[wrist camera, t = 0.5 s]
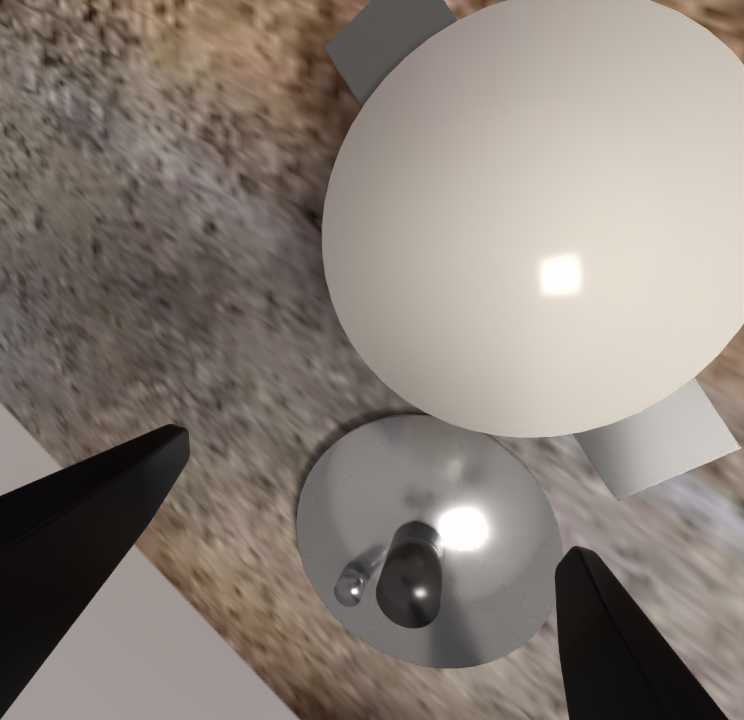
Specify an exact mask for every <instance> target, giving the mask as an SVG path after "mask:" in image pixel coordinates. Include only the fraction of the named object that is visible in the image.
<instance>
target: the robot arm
mask: <svg viewBox="0 0 744 720" xmlns="http://www.w3.org/2000/svg"><path fill="white" fill-rule="evenodd" d="M189 455H190V447H189V433H188V430H187V429H186V428H184V427H181V426H178V425H174V424H168V425H165V426H162V427H160V428H158V429H155V430H153V431H151V432H148V433H146V434H144V435H141V436H139V437H137V438H134V439H132V440H130V441H127V442H125V443H123V444H120V445H118V446H116V447H113V448H111V449H109V450H106V451H104V452H102V453H99V454H97V455H95V456H92V457H90V458H88V459H85V460H83V461H81V462H78V463H76V464H74V465H71V466H69V467H67V468H64V469H62V470H60V471H57V472H55V473H53V474H50V475H48V476H46V477H43V478H41V479H39V480H36V481H34V482H32V483H29V484H27V485H25V486H22V487H20V488H18V489H15V490H13V491H11V492H8V493H6V494H4V495H1V496H0V719H1V718H2V717H3V715H4V714H5V713H6V711H7V710H8V709H9V707H10V706H11V705H12V704H13V702H14V701H15V700H16V698H17V697H18V696H19V694H20V693H21V692H22V690H23V689H24V688H25V686H26V685H27V684H28V683H29V681H30V680H31V679H32V677H33V676H34V675H35V673H36V672H37V671H38V669H39V668H40V667H41V665H42V664H43V663H44V661H45V660H46V659H47V658H48V656H49V655H50V654H51V652H52V651H53V650H54V648H55V647H56V646H57V644H58V643H59V642H60V640H61V639H62V638H63V636H64V635H65V634H66V633H67V631H68V630H69V629H70V627H71V626H72V624H73V623H74V622H75V621H76V619H77V618H78V617H79V615H80V614H81V613H82V612H83V610H84V609H85V608H86V606H87V605H88V604H89V602H90V601H91V600H92V598H93V597H94V596H95V594H96V593H97V592H98V590H99V589H100V588H101V587H102V585H103V584H104V583H105V581H106V580H107V579H108V577H109V576H110V575H111V573H112V572H113V571H114V569H115V568H116V567H117V565H118V564H119V563H120V562H121V560H122V559H123V557H124V556H125V555H126V554H127V552H128V551H129V550H130V548H131V547H132V546H133V544H134V543H135V542H136V541H137V539H138V538H139V537H140V535H141V534H142V533H143V531H144V530H145V529H146V527H147V526H148V524H149V523H150V522H151V520H152V518H153V517H154V515H155V514H156V512H157V511H158V509H159V507H160V506H161V504H162V503H163V501H164V499H165V498H166V496H167V494H168V493H169V491H170V490H171V488H172V486H173V485H174V483H175V481H176V480H177V478H178V476H179V475H180V473H181V472H182V470H183V468H184V467H185V465H186V463H187V461H188V459H189ZM555 593H556V610H557V628H558V643H559V654H560V662H561V669H562V675H563V682H564V688H565V694H566V701H567V707H568V714H569V720H729V719H728V718H727V717H726V716H725V714H724V713H723V712H722V711H721V709H720V708H719V707H718V706H717V704H716V703H715V702H714V700H713V699H712V698H711V697H710V695H709V694H708V693H707V692H706V690H705V689H704V688H703V687H702V685H701V684H700V683H699V682H698V680H697V679H696V678H695V677H694V675H693V674H692V673H691V671H690V670H689V669H688V668H687V666H686V665H685V664H684V663H683V661H682V660H681V659H680V658H679V656H678V655H677V654H676V653H675V651H674V650H673V649H672V648H671V646H670V645H669V644H668V643H667V641H666V640H665V639H664V637H663V636H662V635H661V634H660V632H659V631H658V630H657V629H656V627H655V626H654V625H653V624H652V622H651V621H650V620H649V619H648V617H647V616H646V615H645V614H644V612H643V611H642V610H641V608H640V607H639V606H638V605H637V603H636V602H635V601H634V600H633V598H632V597H631V596H630V595H629V593H628V592H627V591H626V590H625V588H624V587H623V586H622V585H621V583H620V582H619V581H618V580H617V578H616V577H615V576H614V574H613V573H612V572H611V571H610V569H609V568H608V567H607V566H606V564H605V563H604V562H603V561H602V559H601V558H600V557H599V556H598V555H597V553H595V552H594V551H592V550H589V549H586V548H583V547H579V546H574V547H572V548H571V549H570V550H569V551H568V552H567V554H566V555H565V556H564V557H563V559H562V560H561V561H560V562H559V563H558V565H557V567H556V569H555Z"/></svg>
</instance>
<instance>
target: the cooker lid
mask: <svg viewBox="0 0 744 720" xmlns="http://www.w3.org/2000/svg"><path fill="white" fill-rule="evenodd" d="M296 521H297V540H298V546H299V552H300V555H301V559H302V563H303V566H304V568H305V571H306V573H307V576H308V578H309V580H310V582H311V584H312V586H313V588H314V590H315V591H316V593H317V595H318V596H319V598H320V599H321V601H322V602H323V603H324V605H325V606H326V608H327V609H328V610H329V611H330V612H331V613H332V615H333V616H334V617H335V618H336V619H337V620H338V621H339V622H340V623H341V624H342V625H343V626H344V627H345V628H346V629H347V630H349V631H350V632H351V633H352V634H354V635H355V636H356V637H358V638H359V639H360V640H362V641H363V642H365V643H366V644H368V645H370V646H371V647H373V648H375V649H376V650H378V651H380V652H382V653H385V654H387V655H389V656H391V657H393V658H396V659H399V660H402V661H405V662H408V663H412V664H416V665H420V666H425V667H434V668H465V667H472V666H477V665H481V664H485V663H489V662H492V661H494V660H497V659H499V658H501V657H504V656H506V655H508V654H509V653H511V652H513V651H514V650H516V649H518V648H519V647H521V646H522V645H523V644H524V643H525V642H527V641H528V640H529V639H530V638H532V637H533V636H534V634H535V633H536V632H537V631H538V630H539V629H540V628H541V626H542V625H543V624H544V622H545V621H546V619H547V618H548V616H549V614H550V613H551V611H552V609H553V607H554V604H555V602H556V593H555V569H556V567H557V565H558V563H559V562H560V561H561V560H562V559H563V547H562V540H561V536H560V531H559V527H558V523H557V521H556V518H555V516H554V513H553V511H552V508H551V506H550V503H549V501H548V499H547V497H546V495H545V493H544V491H543V490H542V488H541V486H540V484H539V483H538V481H537V480H536V478H535V477H534V476H533V474H532V473H531V472H530V470H529V469H528V468H527V467H526V466H525V465H524V464H523V462H522V461H521V460H520V459H519V458H518V457H517V456H516V455H515V454H514V453H513V452H511V451H510V450H509V449H508V448H506V447H505V446H504V445H503V444H501V443H500V442H499V441H497V440H496V439H494V438H492V437H491V436H489V435H488V434H486V433H482V432H477V431H472V430H468V429H465V428H462V427H459V426H456V425H453V424H450V423H447V422H445V421H443V420H440V419H438V418H436V417H434V416H432V415H428V414H398V415H392V416H387V417H382V418H378V419H376V420H373V421H370V422H367V423H364V424H362V425H360V426H358V427H356V428H354V429H352V430H351V431H349V432H348V433H347V434H345V435H344V436H342V437H341V438H339V439H338V440H337V441H336V442H335V443H334V444H333V445H332V446H331V447H330V448H329V449H328V450H327V451H326V452H325V453H324V454H323V455H322V456H321V457H320V459H319V460H318V461H317V462H316V464H315V465H314V467H313V468H312V470H311V472H310V474H309V475H308V477H307V479H306V482H305V484H304V487H303V489H302V492H301V496H300V500H299V504H298V511H297V520H296Z"/></svg>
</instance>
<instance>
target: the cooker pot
mask: <svg viewBox="0 0 744 720" xmlns="http://www.w3.org/2000/svg"><path fill="white" fill-rule="evenodd" d="M324 48H325V50H326V52H327V54H328V56H329V58H330V59H331V61H332V63H333V65H334V67H335V68H336V70H337V72H338V73H339V75H340V76H341V78H342V79H343V81H344V82H345V84H346V85H347V87H348V89H349V90H350V92H351V93H352V95H353V96H354V98H355V99H356V101H357V102H358V104H359V105H360V107H361V111H360V112H359V114H358V116H357V117H356V119H355V120H354V122H353V124H352V125H351V127H350V129H349V131H348V133H347V136H346V138H345V140H344V142H343V144H342V146H341V148H340V150H339V153H338V156H337V159H336V161H335V164H334V167H333V170H332V173H331V176H330V180H329V184H328V189H327V193H326V198H325V202H324V212H323V221H322V255H323V263H324V271H325V278H326V282H327V285H328V289H329V293H330V297H331V301H332V303H333V306H334V309H335V311H336V314H337V316H338V319H339V321H340V324H341V326H342V327H343V329H344V331H345V333H346V335H347V336H348V338H349V340H350V342H351V344H352V345H353V347H354V348H355V350H356V351H357V352H358V354H359V355H360V356H361V358H362V359H363V361H364V362H365V363H366V365H367V366H368V367H369V368H370V369H371V370H372V371H373V372H374V373H375V374H376V375H377V376H378V377H379V378H380V380H381V381H382V382H383V383H385V384H386V385H387V386H388V387H389V388H391V389H392V390H393V391H394V392H395V393H397V394H398V395H399V396H400V397H401V398H403V399H405V400H406V401H408V402H409V403H411V404H412V405H414V406H416V407H417V408H419V409H420V410H422V411H424V412H426V413H428V414H430V415H432V416H434V417H436V418H438V419H440V420H443V421H445V422H447V423H450V424H453V425H456V426H459V427H462V428H465V429H468V430H472V431H477V432H482V433H487V434H491V435H496V436H508V437H521V438H532V437H554V436H560V435H567V434H573V435H574V437H575V438H576V440H577V442H578V443H579V445H580V446H581V448H582V449H583V451H584V452H585V454H586V455H587V457H588V458H589V460H590V462H591V463H592V465H593V466H594V468H595V469H596V471H597V472H598V474H599V475H600V477H601V478H602V480H603V482H604V483H605V485H606V486H607V487H608V489H609V490H610V491H611V492H612V494H613V495H614V496H615V497H616V499H617V500H618V501H619V500H621V499H623V498H626V497H628V496H631V495H633V494H635V493H638V492H640V491H642V490H645V489H647V488H649V487H652V486H654V485H656V484H659V483H661V482H663V481H666V480H668V479H670V478H673V477H675V476H678V475H680V474H682V473H685V472H687V471H689V470H692V469H694V468H696V467H699V466H701V465H703V464H706V463H708V462H710V461H713V460H715V459H717V458H720V457H722V456H725V455H727V454H729V453H732V452H734V451H736V450H739V449H741V447H740V446H739V444H738V443H737V441H736V440H735V438H734V437H733V435H732V434H731V432H730V431H729V429H728V428H727V426H726V425H725V423H724V422H723V420H722V419H721V417H720V416H719V414H718V413H717V411H716V410H715V408H714V407H713V405H712V404H711V402H710V401H709V399H708V398H707V396H706V395H705V393H704V392H703V390H702V389H701V387H700V386H699V384H698V383H697V381H696V380H695V378H694V377H695V376H696V375H697V374H698V373H699V372H700V371H702V370H703V369H704V368H705V367H706V366H707V365H708V364H709V363H710V362H711V361H712V360H713V359H714V358H715V357H717V356H718V355H719V354H720V352H721V351H722V350H723V349H724V347H725V346H726V345H727V344H728V343H729V341H730V340H731V339H732V338H733V337H734V335H735V334H736V333H737V332H738V331H739V329H740V328H741V327H742V325H743V323H744V65H743V64H742V62H741V61H740V60H739V59H738V58H737V56H736V55H735V54H734V53H733V51H732V50H731V49H729V48H728V47H727V46H726V45H725V44H724V43H722V42H721V41H720V40H719V39H718V38H717V37H716V36H714V35H713V34H712V33H711V32H710V31H709V30H707V29H706V28H704V27H703V26H701V25H699V24H698V23H696V22H694V21H693V20H691V19H690V18H688V17H686V16H685V15H683V14H681V13H680V12H678V11H675V10H673V9H670V8H668V7H665V6H663V5H660V4H658V3H655V2H653V1H651V0H507V1H504V2H501V3H498V4H495V5H491V6H488V7H486V8H484V9H481V10H479V11H477V12H475V13H473V14H471V15H469V16H466V17H464V18H462V19H460V20H458V21H457V20H456V18H455V17H454V15H453V14H452V12H451V11H450V9H449V8H448V6H447V5H446V3H445V2H444V0H372V1H371V2H370V3H369V4H368V5H367V6H366V7H365V8H364V9H363V10H362V11H361V12H360V13H359V14H358V15H357V16H356V17H355V18H354V19H353V20H352V21H351V22H350V23H349V24H348V25H347V26H346V27H345V28H344V29H343V30H341V31H340V32H339V33H338V34H337V35H336V36H335V37H334V38H333V39H332V40H331V41H330V42H329V43H328V44H327V45H326V46H325V47H324Z"/></svg>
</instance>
